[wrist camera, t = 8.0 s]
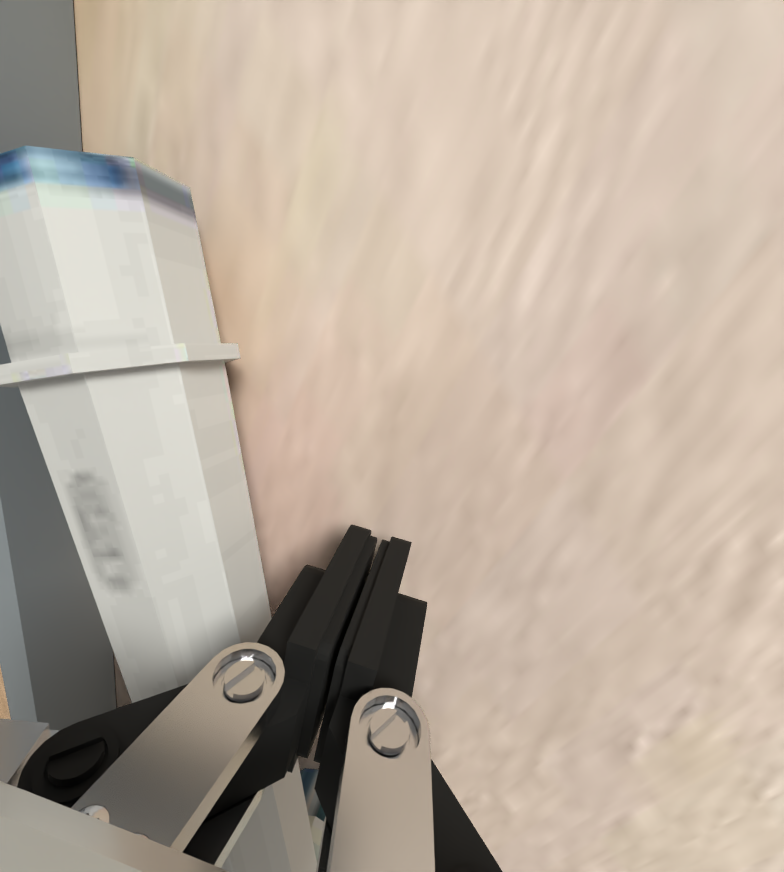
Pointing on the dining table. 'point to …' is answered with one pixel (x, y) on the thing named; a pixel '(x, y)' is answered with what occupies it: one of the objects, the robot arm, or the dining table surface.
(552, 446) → the dining table surface
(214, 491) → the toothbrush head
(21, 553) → the bay
